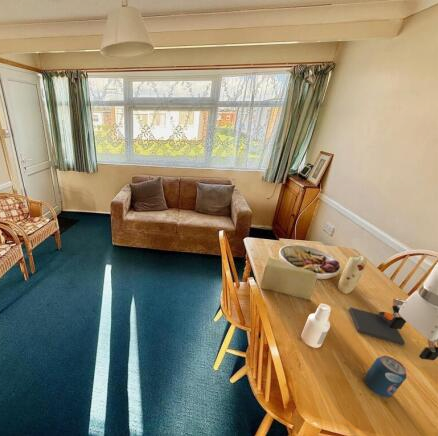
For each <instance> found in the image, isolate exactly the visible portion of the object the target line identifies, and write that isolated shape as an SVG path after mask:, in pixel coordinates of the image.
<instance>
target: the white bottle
mask: <svg viewBox="0 0 438 436" xmlns="http://www.w3.org/2000/svg"><path fill="white" fill-rule="evenodd" d="M331 312H332V308H331V306H330V305H328V304H326V303H319V306H318V307H317V308H316V310H315V312H314V313H310V314H309V315H308V317H307V319H306V321H305V325H304V326H303V329H302V331H301V335H300V337H301V340H302V342H303V343H304V344H306V345H307V346H309V347H311V348H315V349H316V348H317V349H318V348H321V346H322V345H323V343H324V340H325V339H326V337H327V334H328V332H329V330H330V328H331V322H330V321H329V317H330V315H331Z"/></svg>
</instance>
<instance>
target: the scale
mask: <svg viewBox="0 0 438 436" xmlns="http://www.w3.org/2000/svg"><path fill="white" fill-rule="evenodd" d="M348 312H349V315H350V317H351V320H352V322H353V325H354V328H355V330H356V332H357V333H359V334H361V335H365V336H368V337H372V338H375V339H379V340H382V341H385V342H389V343H392V344H395V345H399V346H404V345H405V344H406V342H405V340H404V338H403V337H402V335H401V334H400V331H399V329H391V328H389V327H388V326H389V324H390V323H391V321H392V320H388V319H386V318H385V317H383V315H384V313H385V311H379V312H378V313H373V312H370V311H366V310H363V309H359V308H355V307H351V306H350V307H349V308H348Z"/></svg>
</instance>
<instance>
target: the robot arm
mask: <svg viewBox="0 0 438 436" xmlns="http://www.w3.org/2000/svg"><path fill="white" fill-rule="evenodd" d="M391 308H392V312H393V313H392V315H393V317H394V318H393V319H392V321H391V323H390V324H389V326H388V327H389V328H391V329H397V330H402V329H403V327H404V326H405V325H406V323H407V324H408V325H409V326H411V327H412V328H413V329H414V330H415V331H417V332H418V334H420V335H421V336H422V337H423V338H424V339H426V340H427V345H428V346H426V347H424V349H423V350H422V351H421V353H420V354H419V355H418V357H419V359H421V360H428V361H436V360H437V358H438V261H437V262H436V264H435V265H434V267H433V268H432V270H431V271H430V273H429V274H428V276H427V277H426V279H425V281H424V282H423V284H422V286H421V287H420V288H419V289H417V290H415V291H414V292H413V293H411V294H410V295H409V296H408V297H407V298H406V300H404V299H400V298H393V299H392V307H391ZM436 345H437V346H436Z"/></svg>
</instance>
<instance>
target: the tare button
mask: <svg viewBox="0 0 438 436" xmlns="http://www.w3.org/2000/svg"><path fill="white" fill-rule="evenodd" d="M384 312H385V311H384ZM383 317H385V318H386V319H388V320H392V319H393V318H394V317H393V313H391V312H387V311H386V312H385V313H384V315H383Z"/></svg>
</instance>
